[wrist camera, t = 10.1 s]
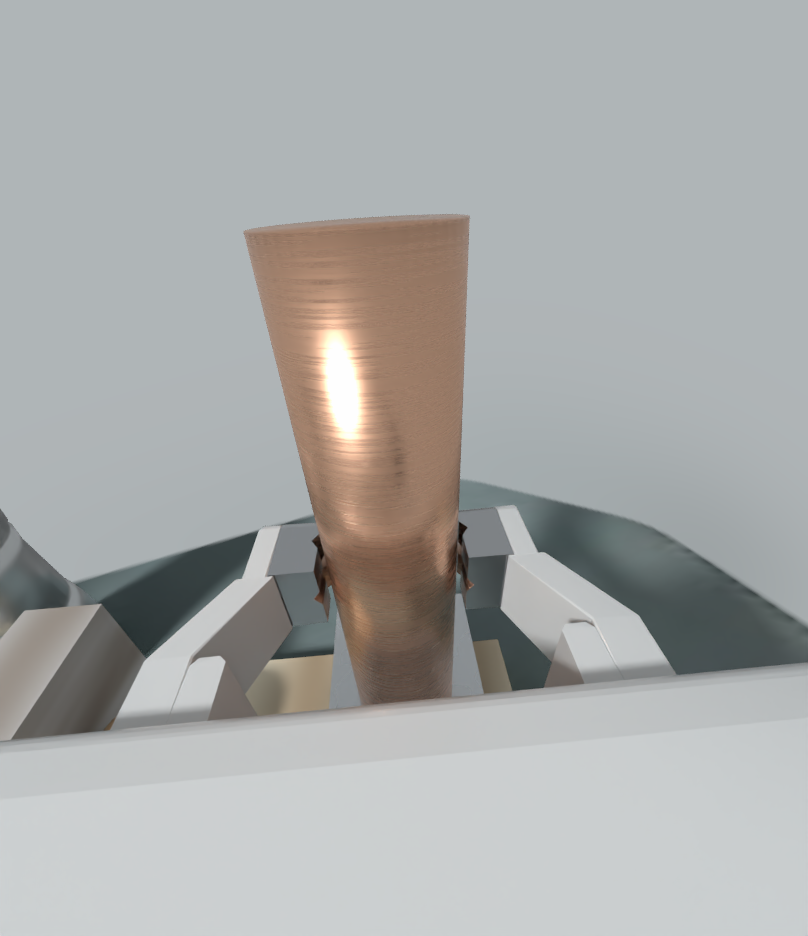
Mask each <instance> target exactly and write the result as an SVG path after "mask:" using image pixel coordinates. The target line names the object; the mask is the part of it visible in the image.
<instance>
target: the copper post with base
mask: <svg viewBox="0 0 808 936" xmlns="http://www.w3.org/2000/svg"><path fill="white" fill-rule="evenodd" d="M244 235H245V239H246V243H247V247H248V251H249V255H250V259H251V263H252V267H253V271H254V275H255V279H256V283H257V287H258V291H259V295H260V299H261V303H262V307H263V311H264V315H265V320H266V324H267V328H268V331H269V335H270V340H271V344H272V347H273V352H274V356H275V359H276V364H277V367H278V371H279V376H280V380H281V383H282V387H283V392H284V396H285V400H286V404H287V408H288V411H289V416H290V420H291V424H292V428H293V432H294V436H295V440H296V444H297V448H298V452H299V456H300V460H301V464H302V468H303V472H304V476H305V480H306V484H307V488H308V492H309V496H310V500H311V504H312V508H313V512H314V516H315V520H316V524H317V528H318V532H319V536H320V540H321V544H322V548H323V552H324V556H325V560H326V564H327V568H328V572H329V576H330V581H331V585H332V589H333V593H334V597H335V601H336V605H337V621H336V632H335V644H334V656H333V667H332V679H331V690H330V702H329V709H333V708H343V707H353V706H363V705H374V704H384V703H394V702H404V701H414V700H424V699H435V698H445V697H455V696H466V695H476V694H484V692H483V687H482V683H481V678H480V674H479V669H478V665H477V661H476V656H475V652H474V647H473V643H472V638H471V634H470V629H469V625H468V620H467V616H466V612H465V607H464V603H463V598H462V594H456V568H457V541H458V514H459V487H460V459H461V432H462V405H463V380H464V379H463V378H464V352H465V326H466V299H467V270H468V244H469V216H468V215H456V214H455V215H453V214H447V215H446V214H442V215H441V214H440V215H407V216H387V217H369V218H354V219H341V220H328V221H316V222H305V223H294V224H285V225H276V226H268V227H260V228H254V229H249V230H245V231H244Z"/></svg>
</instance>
